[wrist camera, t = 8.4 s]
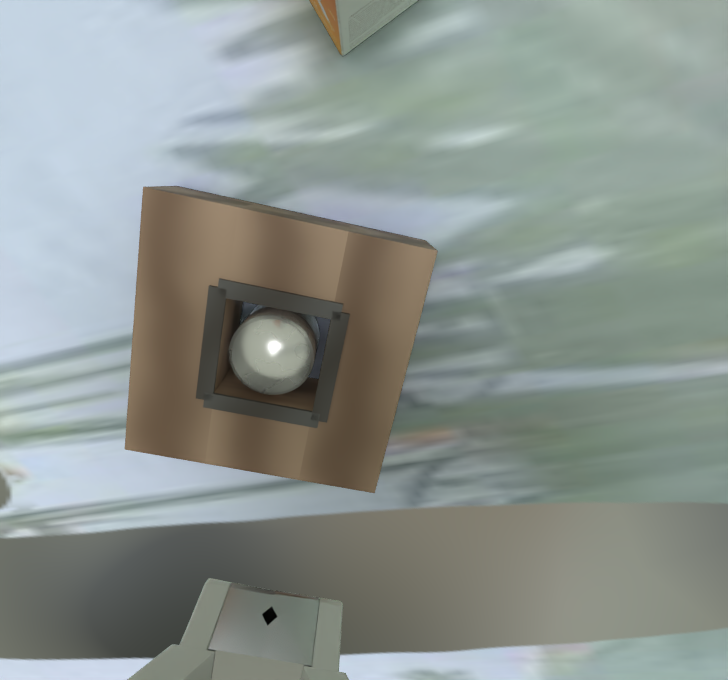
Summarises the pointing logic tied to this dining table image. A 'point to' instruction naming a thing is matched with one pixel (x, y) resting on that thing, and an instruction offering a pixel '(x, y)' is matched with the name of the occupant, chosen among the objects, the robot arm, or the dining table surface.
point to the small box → (356, 18)
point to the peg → (274, 350)
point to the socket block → (282, 291)
